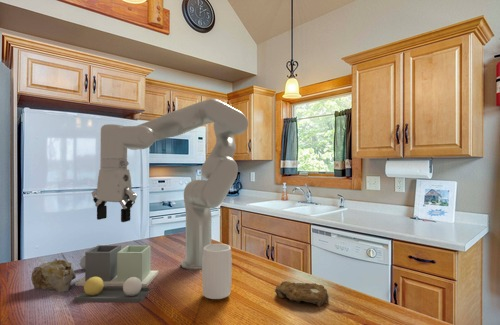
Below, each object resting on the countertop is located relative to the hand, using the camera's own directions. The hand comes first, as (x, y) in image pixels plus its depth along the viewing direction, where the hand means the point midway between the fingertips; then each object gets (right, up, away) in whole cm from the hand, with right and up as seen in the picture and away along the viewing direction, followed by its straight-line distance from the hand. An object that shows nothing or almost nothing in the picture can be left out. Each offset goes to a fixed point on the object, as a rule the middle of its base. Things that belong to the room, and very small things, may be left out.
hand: (113, 220), depth 91 cm
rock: (-17, -21, -2) cm, 27 cm away
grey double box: (0, -20, +4) cm, 21 cm away
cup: (+33, -21, -7) cm, 39 cm away
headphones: (-12, -21, +19) cm, 31 cm away
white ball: (+9, -20, -7) cm, 23 cm away
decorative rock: (+57, -21, -8) cm, 61 cm away
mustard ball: (-2, -20, -7) cm, 21 cm away
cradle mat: (+3, -20, -7) cm, 22 cm away
